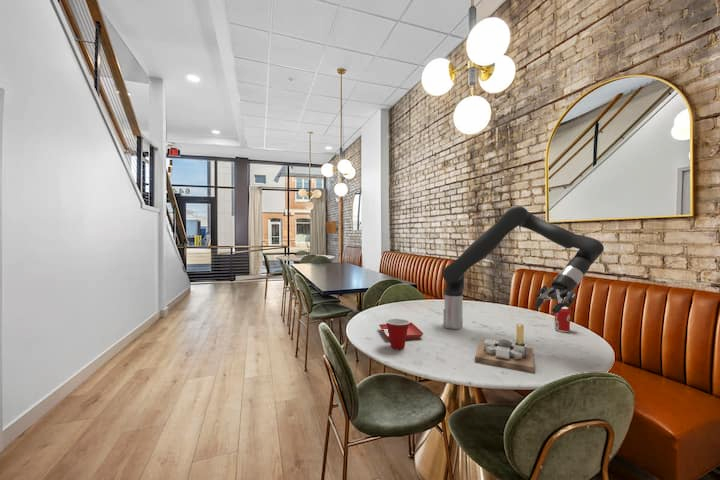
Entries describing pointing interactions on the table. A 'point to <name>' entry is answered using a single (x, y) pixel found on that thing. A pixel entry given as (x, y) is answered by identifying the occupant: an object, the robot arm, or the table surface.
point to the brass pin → (520, 334)
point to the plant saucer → (411, 331)
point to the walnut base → (517, 364)
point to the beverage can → (562, 320)
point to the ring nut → (505, 349)
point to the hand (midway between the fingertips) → (544, 309)
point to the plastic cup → (397, 332)
